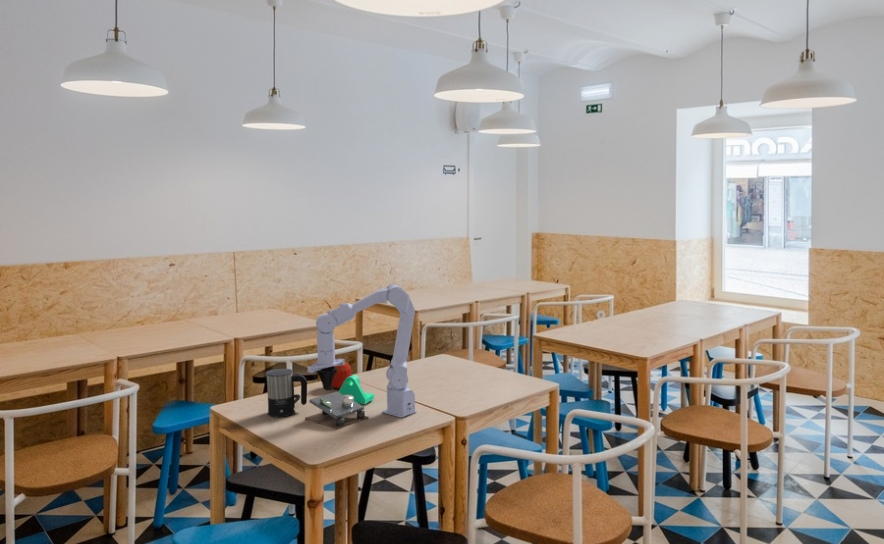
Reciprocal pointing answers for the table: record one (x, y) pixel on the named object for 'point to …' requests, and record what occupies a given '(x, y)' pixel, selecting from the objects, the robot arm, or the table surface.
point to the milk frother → (284, 392)
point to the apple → (341, 375)
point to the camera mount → (355, 390)
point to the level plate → (337, 404)
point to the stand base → (333, 420)
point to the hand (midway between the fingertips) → (327, 389)
